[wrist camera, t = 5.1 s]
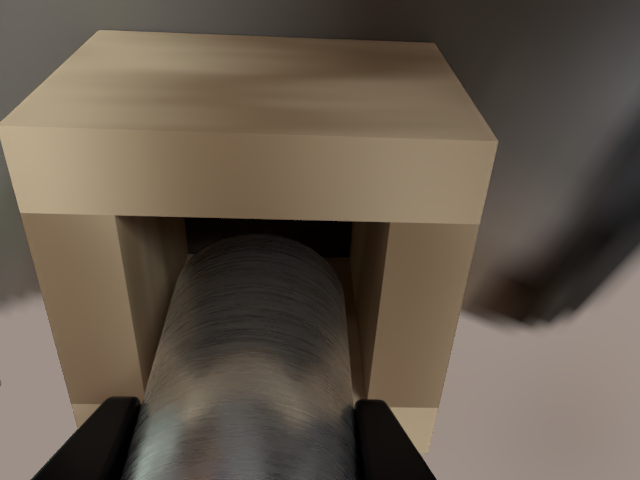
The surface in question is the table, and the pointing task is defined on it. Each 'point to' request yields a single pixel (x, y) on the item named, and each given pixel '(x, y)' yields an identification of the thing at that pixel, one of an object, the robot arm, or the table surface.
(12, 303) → the table surface
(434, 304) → the bore block
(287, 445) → the pin
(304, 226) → the table surface
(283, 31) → the table surface
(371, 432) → the robot arm
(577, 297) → the table surface
